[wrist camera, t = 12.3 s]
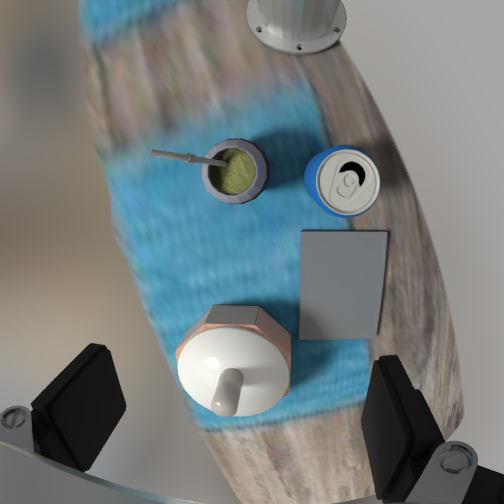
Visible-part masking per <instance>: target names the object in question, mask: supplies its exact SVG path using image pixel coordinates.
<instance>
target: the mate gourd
mask: <svg viewBox="0 0 504 504" xmlns="http://www.w3.org/2000/svg"><path fill="white" fill-rule="evenodd" d="M151 156H154V157H161V158H167V159H174V160H180V161H184V162H185V163H191V164H193V163H202V164H203V165H202V179H203V181H204V184H205V186H206V188H207V190H208V191H209V192H210V193H211V194H212V195H213V196H214V197H215V198H216V199H218V200H221V201H223V202H225V203H228V204H244V203H246V202H249V201H251V200H254V199H255V198H257V197H258V196H259V195H260V194H261V193H262V192H263V191H264V189H265V187H266V185H267V182H268V180H269V162H268V160H267V157H266V155H265V153H264V152H263V151H262V150H261V149H260V148H259V147H258V146H257V145H256V144H255V143H252V142H250V141H247V140H245V139H227V140H225V141H222V142H220V143H218V144H216V145H215V146H214V147H213V148H212V149H211V150H210V151H209V152H208V153H207V155H206V157H205V158H203V157H197V156H195V155H194V154H178V153H172V152H166V151H159V150H153V149H152V151H151Z"/></svg>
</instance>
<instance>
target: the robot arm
mask: <svg viewBox="0 0 504 504" xmlns="http://www.w3.org/2000/svg"><path fill="white" fill-rule="evenodd" d="M346 18H347V17H346V11H345V8H344V5H343V3H342V2H341V0H249V3H248V6H247V19H248V23H249V26H250V28H251V30H252V32H253V34H254V35H255V36H256V37H257V38H258V39H259V40H260V41H261V42H262V43H264V44H265V45H266V46H268V47H270V48H272V49H274V50H276V51H279V52H282V53H286V54H291V55H309V54H314V53H318V52H321V51H323V50H326V49H328V48H329V47H331V46H332V45H333V44H335V43H336V42H337V41H338V39H339V38H340V37H341V35H342V33H343V31H344V29H345V26H346ZM259 31H262V32H259ZM335 31H336V32H337V33H335ZM298 48H301V49H302V50H298ZM31 406H32V408H33V410H32V411H31V412H30V411H29V409H28V408H26V407H24V406H12V407H9V408H7V409H5V410H4V411H3V412H2V413H1V414H0V504H206V503H200V502H194V501H188V500H182V499H177V498H172V497H167V496H162V495H158V494H154V493H149V492H145V491H141V490H137V489H134V488H130V487H126V486H123V485H120V484H116V483H113V482H110V481H106V480H104V479H100V478H98V477H95V476H92V475H88V474H86V473H84V472H85V471H88V470H89V469H90V468H91V466H92V464H93V463H94V461H95V459H96V458H97V456H98V455H99V453H100V451H101V450H102V448H103V446H104V445H105V443H106V442H107V440H108V438H109V436H110V435H111V433H112V432H113V430H114V429H115V427H116V425H117V424H118V422H119V421H120V419H121V417H122V416H123V414H124V412H125V410H126V402H125V399H124V396H123V393H122V390H121V386H120V383H119V380H118V376H117V373H116V370H115V366H114V363H113V359H112V355H111V352H110V350H108V349H107V347H106V346H105V345H100V344H94V343H90V344H89V345H88V346H87V347H86V348H85V349H84V350H83V351H82V352H81V353H80V354H79V355H78V356H77V357H76V358H75V359H74V360H73V361H72V362H71V363H70V364H69V365H68V366H67V367H66V368H65V369H64V370H63V371H62V372H61V373H60V374H59V375H58V376H57V377H56V378H55V379H54V380H53V381H52V382H51V383H50V384H49V385H48V386H47V387H46V388H45V389H44V390H43V391H42V392H41V393H40V394H39V396H38V397H36V399H35V400H34V401H33V402H32V403H31ZM361 426H362V430H363V435H364V439H365V444H366V448H367V453H368V457H369V462H370V467H371V472H372V477H373V482H374V487H375V492H376V497H377V499H378V500H380V499H382V502H383V504H504V474H501V473H498V472H496V471H493V470H490V469H487V468H485V467H482V466H479V465H477V463H478V457H477V453H476V452H475V450H474V449H473V448H472V447H471V446H470V445H468V444H466V443H464V442H460V441H449V442H445V440H444V438H443V436H442V434H441V431H440V429H439V427H438V425H437V423H436V421H435V419H434V417H433V415H432V413H431V411H430V408H429V406H428V404H427V402H426V400H425V398H424V396H423V394H422V393H421V391H420V390H418V389H416V390H415V389H414V387H413V385H412V383H411V381H410V379H409V377H408V375H407V373H406V371H405V369H404V367H403V365H402V363H401V361H400V360H399V358H398V356H397V355H386V356H380V358H379V360H375V361H374V364H373V368H372V373H371V378H370V383H369V388H368V392H367V397H366V401H365V405H364V409H363V413H362V418H361Z"/></svg>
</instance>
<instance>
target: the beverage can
mask: <svg viewBox="0 0 504 504" xmlns="http://www.w3.org/2000/svg"><path fill="white" fill-rule="evenodd" d="M303 181H304V186H305V188H306V190H307V192H308V194H309V195H310V196H311V197H312V198H313V199H314V200H315V202H316V203H317V204H318V205H319V206H320V207H321V208H322V209H323V210H325V211H326V212H328V213H329V214H331V215H334V216H337V217H342V218H350V217H355V216H358V215H360V214H362V213H364V212H366V211H367V210H368V209H369V208H370V207H371V206H372V205H373V204H374V202H375V201H376V199H377V197H378V194H379V190H380V174H379V171H378V168H377V166H376V164H375V162H374V161H373V160H372V158H371V157H370V156H369V155H368V154H367V153H365V152H364V151H362V150H361V149H358V148H356V147H353V146H347V145H341V146H336V147H332V148H330V149H328V150H325V151H323V152H321V153H319V154H317V155H315V156H314V157H312V158H311V159H310V160H309V162H308V163H307V165H306V167H305V170H304V174H303Z"/></svg>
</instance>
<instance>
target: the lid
mask: <svg viewBox="0 0 504 504" xmlns="http://www.w3.org/2000/svg"><path fill="white" fill-rule="evenodd" d="M178 374H179V378H180V381H181V383H182V385H183V387H184V388H185V390H186V391H187V392H188V394H189V395H190V396H191V397H192V398H193V399H194V400H195V401H197V402H198V403H199V404H201V405H202V406H204V407H206V408H208V409H209V410H212V411H213V412H214V413H215V414H217V415H219V416H221V417H231V416H250V415H255V414H259V413H262V412H264V411H266V410H268V409H270V408H272V407H273V406H274V405H276V404H277V403H278V402H279V401H280V400H281V399H282V397H283V396H284V394H285V392H286V390H287V387H288V382H289V369H288V364H287V362H286V359H285V357H284V355H283V354H282V352H281V351H280V350H279V348H278V347H277V346H276V345H275V344H274V343H273V342H272V341H270V340H269V339H268V338H266V337H265V336H263V335H261V334H259V333H257V332H255V331H252V330H249V329H246V328H242V327H236V326H219V327H213V328H209V329H206V330H204V331H201V332H199V333H198V334H196V335H195V336H193V337H192V338H191V339H190V340H189V341H188V342H187V343H186V345H185V346H184V348H183V349H182V351H181V354H180V356H179V360H178Z"/></svg>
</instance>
